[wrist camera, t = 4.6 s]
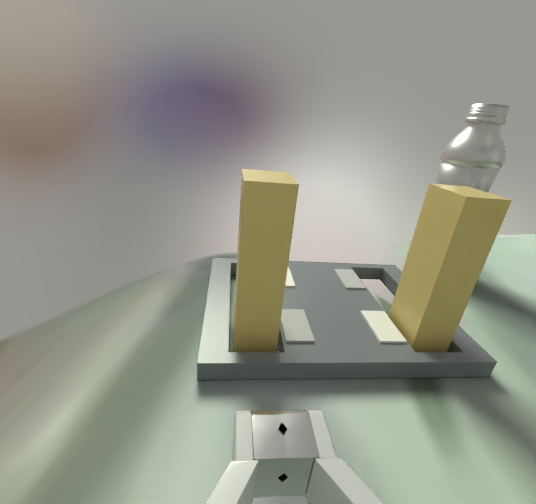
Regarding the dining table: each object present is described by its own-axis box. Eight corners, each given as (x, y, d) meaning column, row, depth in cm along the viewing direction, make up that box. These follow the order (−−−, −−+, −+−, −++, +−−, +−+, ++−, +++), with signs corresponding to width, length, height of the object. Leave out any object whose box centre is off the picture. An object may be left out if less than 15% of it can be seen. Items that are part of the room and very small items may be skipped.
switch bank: (212, 269, 35) (213, 256, 34) (391, 275, 38) (395, 263, 37) (197, 380, 20) (197, 361, 20) (489, 376, 23) (498, 359, 23)
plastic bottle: (406, 271, 39) (460, 100, 31) (408, 254, 45) (454, 105, 37) (462, 286, 37) (536, 105, 29) (456, 265, 43) (517, 109, 35)
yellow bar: (233, 322, 26) (242, 168, 21) (270, 323, 26) (287, 172, 21) (233, 356, 22) (243, 180, 17) (275, 356, 23) (298, 184, 18)
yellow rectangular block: (385, 324, 28) (429, 183, 23) (418, 325, 28) (468, 186, 23) (408, 355, 24) (466, 196, 19) (445, 355, 25) (511, 200, 19)
